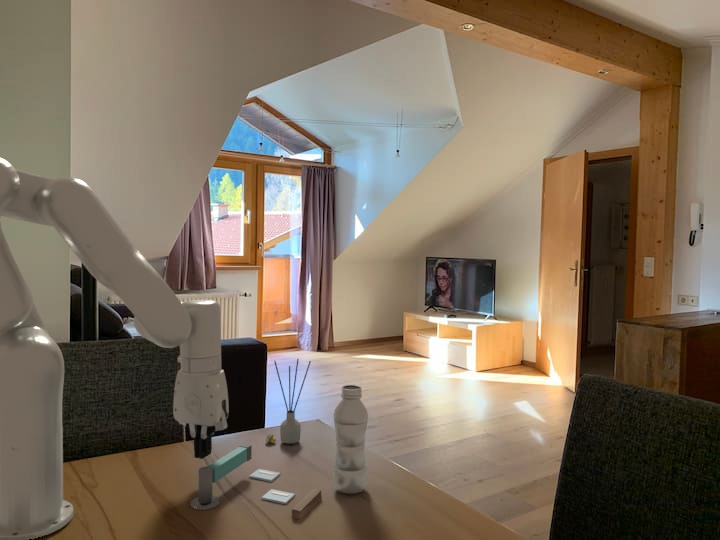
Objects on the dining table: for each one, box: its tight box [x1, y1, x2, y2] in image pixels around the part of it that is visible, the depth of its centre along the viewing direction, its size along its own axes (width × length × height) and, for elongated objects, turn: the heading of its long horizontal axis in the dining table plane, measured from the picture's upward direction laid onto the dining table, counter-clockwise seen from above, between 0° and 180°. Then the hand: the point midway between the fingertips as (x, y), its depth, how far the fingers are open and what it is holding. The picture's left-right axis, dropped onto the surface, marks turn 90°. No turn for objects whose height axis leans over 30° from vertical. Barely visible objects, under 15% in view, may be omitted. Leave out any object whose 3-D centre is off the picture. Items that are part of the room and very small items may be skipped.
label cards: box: [248, 468, 296, 505], centre depth 106 cm, size 12×11×1 cm
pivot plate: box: [190, 495, 221, 511], centre depth 98 cm, size 5×5×1 cm
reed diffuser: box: [265, 358, 311, 444], centre depth 127 cm, size 10×7×20 cm
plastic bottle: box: [332, 384, 369, 495], centre depth 104 cm, size 6×7×20 cm
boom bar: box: [197, 443, 253, 504], centre depth 104 cm, size 15×2×6 cm, turn 159°
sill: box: [291, 488, 322, 520], centre depth 98 cm, size 2×8×2 cm, turn 159°
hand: (202, 455), depth 107 cm, fingers closed
